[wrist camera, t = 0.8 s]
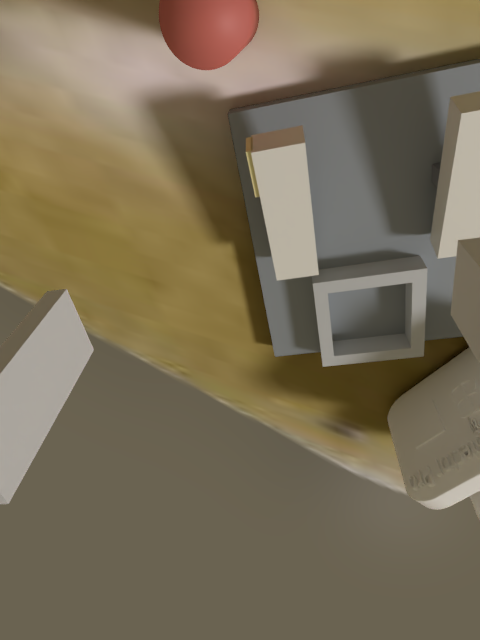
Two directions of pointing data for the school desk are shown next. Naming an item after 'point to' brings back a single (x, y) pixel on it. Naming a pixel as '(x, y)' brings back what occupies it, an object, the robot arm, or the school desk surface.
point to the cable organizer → (441, 435)
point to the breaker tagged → (285, 199)
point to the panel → (362, 217)
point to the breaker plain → (458, 178)
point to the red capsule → (208, 29)
